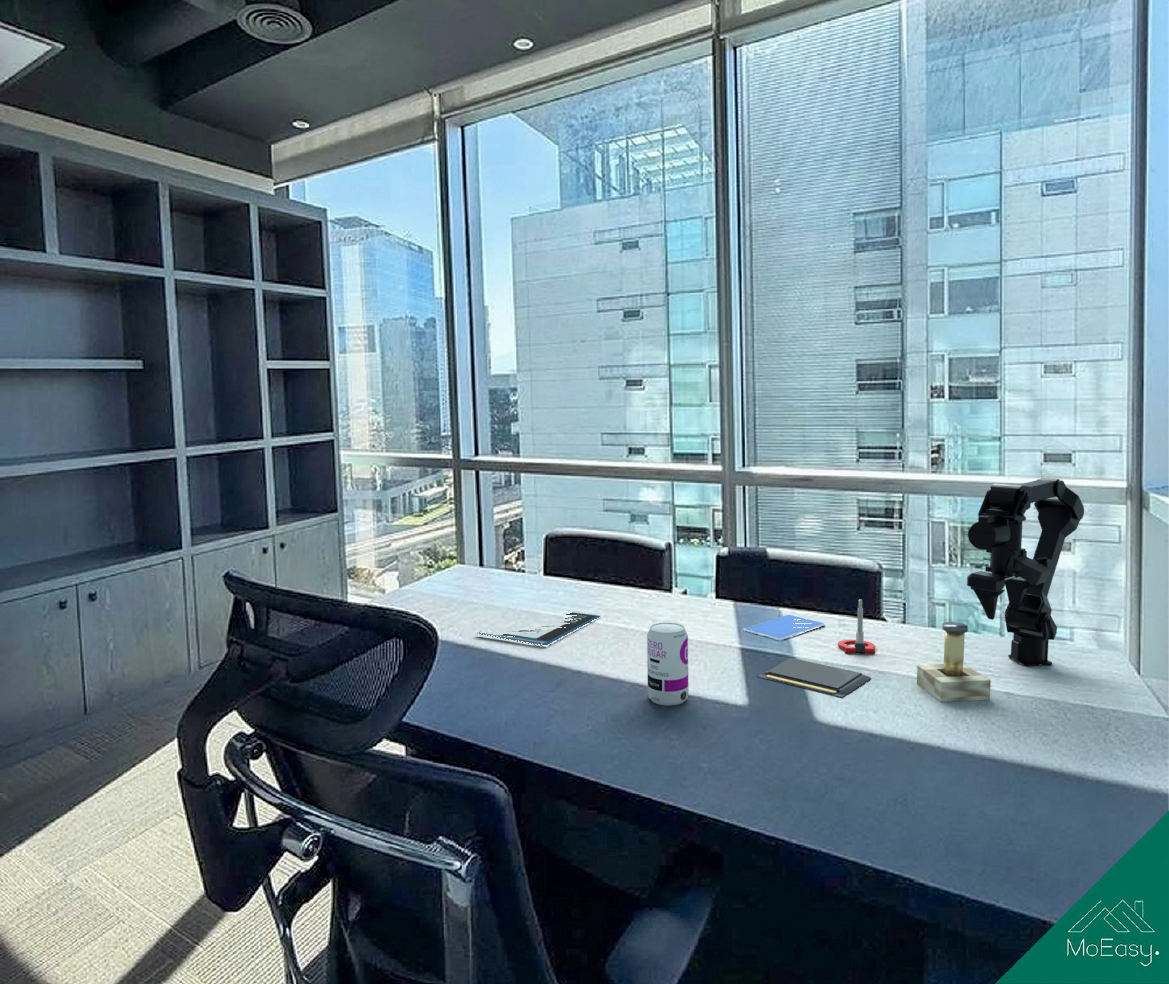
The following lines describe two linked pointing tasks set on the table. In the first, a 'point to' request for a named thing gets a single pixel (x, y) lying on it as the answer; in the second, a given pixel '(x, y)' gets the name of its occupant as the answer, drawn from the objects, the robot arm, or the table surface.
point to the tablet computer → (783, 627)
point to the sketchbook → (550, 630)
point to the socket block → (953, 683)
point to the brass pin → (954, 648)
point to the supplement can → (667, 663)
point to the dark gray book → (816, 677)
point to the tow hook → (858, 638)
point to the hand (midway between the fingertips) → (1002, 615)
